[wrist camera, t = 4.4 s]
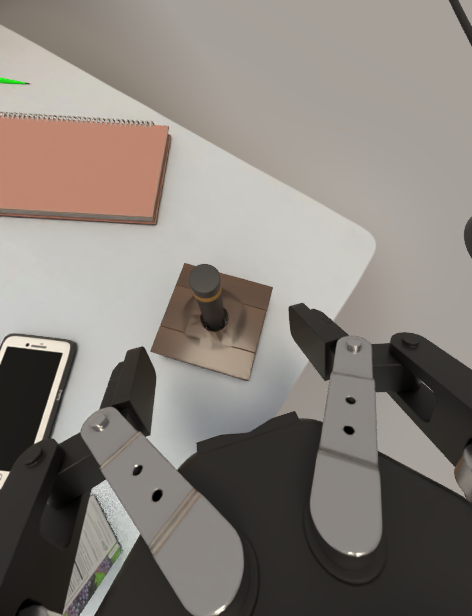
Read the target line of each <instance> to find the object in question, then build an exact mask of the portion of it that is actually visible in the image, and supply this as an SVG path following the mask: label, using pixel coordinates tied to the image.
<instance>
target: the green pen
mask: <svg viewBox="0 0 472 616" xmlns="http://www.w3.org/2000/svg"><path fill="white" fill-rule="evenodd" d="M0 83H10V84H30V83H25V82H20V81H15V80H10V79H5V78H0Z"/></svg>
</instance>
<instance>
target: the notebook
mask: <svg viewBox="0 0 472 616" xmlns="http://www.w3.org/2000/svg"><path fill="white" fill-rule="evenodd" d="M0 113H2V116H0V215H4V216H22V217H39V218H56V219H73V220H90V221H107V222H124V223H141V224H156V220H157V214H158V209H159V203H160V197H161V191H162V186H163V180H164V174H165V168H166V163H167V157H168V151H169V145H170V140H171V135H169V134H168V131H169V126H160V125H154V123H153V121H150V125H149V122H148V121H145V124H144V122H143V121H142V120H141V121H140V123H139V121H138V120H136V121H135V122H134V121H133V120H130V122H129V120H125V121H124V120H123V119H121V120H119V119H116V120H114V119H111V120H110V119H109V118H107V119H106V120H105V119H104V118H101V119H100V118H96V119H95V118H94V117H92V118H90V117H87V118H85V117H82V118H81V117H79V116H78V117H75V116H72V117H71V116H67V117H66V116H60V115H58V116H56V115H45V114H44V115H41V114H38V115H37V114H26V113H23V114H22V113H12V112H9V113H7V112H0ZM5 113H7V115H6V114H5ZM10 114H12V116H11V115H10ZM15 114H17V116H16V115H15ZM19 114H21V115H22V117H21V115H19ZM25 114H26V115H27V117H26V116H25ZM4 115H5V116H4ZM29 115H32V118H31V117H30V116H29ZM34 115H36V116H37V118H36V117H35V116H34ZM39 115H40V116H42V117H41V118H40V117H39ZM44 116H46V118H45V117H44ZM49 116H51V119H50V118H49ZM54 116H55V117H56V119H55V118H54ZM58 117H61V119H59V118H58ZM64 117H65V118H66V120H64ZM69 117H70V118H71V120H69V119H68V118H69ZM73 118H75V119H76V120H73ZM78 118H80V119H81V121H79V120H78ZM83 118H84V119H85V120H86V121H83ZM88 118H89V119H90V121H88ZM93 119H94V120H95V121H92V120H93ZM98 119H99V120H100V122H97V121H98ZM102 120H104V121H105V122H102ZM107 120H109V122H107ZM112 120H113V121H114V123H112ZM117 120H118V121H119V123H117ZM122 121H123V122H124V123H122ZM127 121H128V123H129V124H128V123H127ZM132 122H133V124H132ZM136 123H138V124H136ZM141 123H143V124H141ZM146 123H147V124H148V125H146ZM151 124H153V125H151Z"/></svg>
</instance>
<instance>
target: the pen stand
mask: <svg viewBox="0 0 472 616" xmlns="http://www.w3.org/2000/svg"><path fill="white" fill-rule="evenodd" d="M194 267H196V266H193V265H190V264H186V263H184V266H183V269H182V271H181V274H180V276H179V279H178V281H177V284H176V286H175V289H174V292H173V294H172V297H171V299H170V302H169V304H168V307H167V310H166V312H165V315H164V317H163V320H162V322H161V326H160V328H159V330H158V333H157V335H156V338H155V341H154V343H153V346H152V348H151V352H153V353H156V354H159V355H162V356H165V357H169V358H172V359H175V360H179V361H182V362H185V363H189V364H192V365H195V366H199V367H202V368H205V369H209V370H212V371H215V372H219V373H222V374H225V375H229V376H232V377H235V378H239V379H242V380H246V381H248V380H249V377H250V373H251V369H252V366H253V362H254V358H255V353H256V350H257V346H258V342H259V339H260V335H261V331H262V327H263V323H264V319H265V316H266V312H267V308H268V304H269V300H270V296H271V293H272V289H273V287H270V286H266V285H262V284H259V283H255V282H252V281H248V280H244V279H241V278H237V277H233V276H230V275H226V274H222V273H219V274H220V279H221V287H222V289H221V290H222V301H223V311H224V318H226V320H227V324H226V326H225V327H224V328H223V329H221V330H219V331H214V332H213V331H209V330H207V329H206V328H205V326H204V325H205V320H204V317H203V315H202V313H201V310H200V308H199V306H198V303H197V301H196V299H195V296H194V295H193V292H192V290H191V287H190V285H189V281H188V277H189V274H190V272H191V270H192V269H193V268H194Z"/></svg>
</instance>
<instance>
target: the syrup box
mask: <svg viewBox="0 0 472 616" xmlns="http://www.w3.org/2000/svg"><path fill="white" fill-rule="evenodd" d="M120 553H121V549H120V547H119V545H118V543H117V540H116V538H115V536H114V534H113V532H112V530H111V528H110V526H109V524H108V522H107V520H106V518H105V516H104V514H103V512H102V511H101V509H100V507H99V505H98V503H97V501H96V499H95V497H94V495H91V496H90V498H89V502H88V507H87V511H86V515H85V520H84V524H83V528H82V533H81V537H80V541H79V546H78V550H77V554H76V559H75V563H74V567H73V572H72V576H71V580H70V585H69V589H68V593H67V598H66V602H65V607H64V611H63V615H64V616H79V615H80V613H81V612H82V610H83V609H84V607H85V606H86V604H87V603H88V601H89V600H90V598H91V597H92V595H93V594H94V592H95V591H96V589H97V588H98V586H99V585H100V583H101V582H102V580H103V579H104V577H105V575H106V574H107V573H108V571H109V570H110V568H111V566H112V565H113V563H114V562H115V560H116V559H117V557H118V556H119V555H120Z"/></svg>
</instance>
